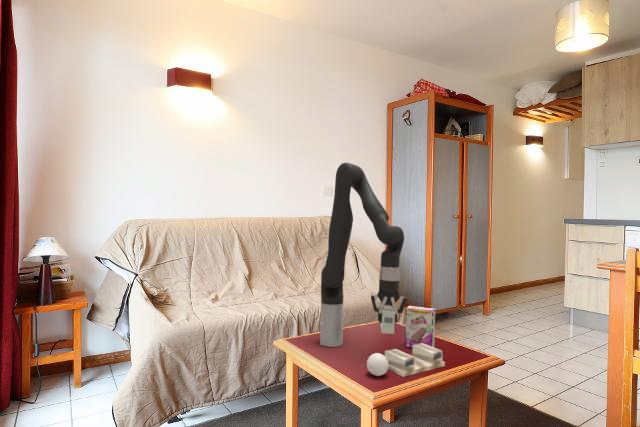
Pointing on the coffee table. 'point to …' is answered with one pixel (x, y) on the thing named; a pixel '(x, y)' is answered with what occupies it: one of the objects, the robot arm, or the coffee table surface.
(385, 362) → the seamed sphere
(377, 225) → the robot arm
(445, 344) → the coffee table surface
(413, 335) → the candy bar box
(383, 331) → the block
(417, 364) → the rail board
